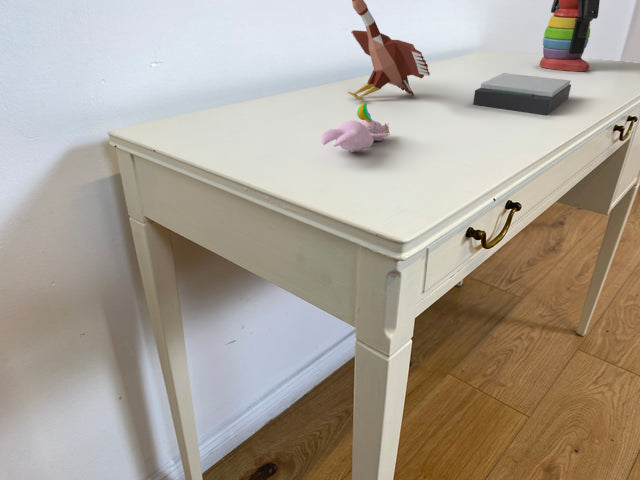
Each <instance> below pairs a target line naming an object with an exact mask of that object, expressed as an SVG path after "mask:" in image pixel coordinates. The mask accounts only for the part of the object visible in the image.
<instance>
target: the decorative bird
mask: <svg viewBox="0 0 640 480" xmlns="http://www.w3.org/2000/svg"><path fill="white" fill-rule="evenodd" d="M351 3H352V8H353V10H354V11H355V12H356V14H357V15H359V16H360V18H361V20H362V22H363V24H364V27H365V30H366V31H365V30H357V29H356V30H355V29H353V30H351V31H350V33H351V35H352V37H353V38H354V39H355V41H356V42H357V43H358V45H359V46H360V48H361V49H362V51H363V52H364V54H365V55H368V56H369V57H370V60H371V63H372V67H373V70H372V72H371V74H370V76H369V78H368V80H367V82H366V83H365V84H364V85H363V86H361V87H360V88H358V90H356V91H355V92H351V91H347V94H349V95H350V96H353V97H354V98H356V99H358V100H362V101H366V100H365V99H364V97H366V96H368V95H370V94H373V93H376V92H377V91H380V90H381V89H382V88H383V87H384V86H386V85H387V84H390V85H393V86H395V87H397V88H399V89H400V90H401V91H405V93H408V94H409V95H412V97H414V96H415V93H414V91H413V90H412V88H411V87H410V83H409V78H408V77H409V76H414V77H416V78H418V79H422V80H423V78H424V77H425V76H428V77H429V76H430V74H431V73H430V71H429V65H428V63H427V61H426V60H425V59H424V56H423V54H422V51H419V49H416V47H415V45H414V44H413V43H410V42H408V41H407V42H406V41H403V40H400V39H392V38H391V37H390V36H389V35H387V34H384V33H382V32H381V31H380V30H379V27H378V25H377V22H376V20H375V18H374V17H373V15H372V13H371V11H370V10H369V8H368V5H367V3H366V1H365V0H351ZM362 92H363V93H362ZM360 93H362V94H361V95H358V94H360Z"/></svg>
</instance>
